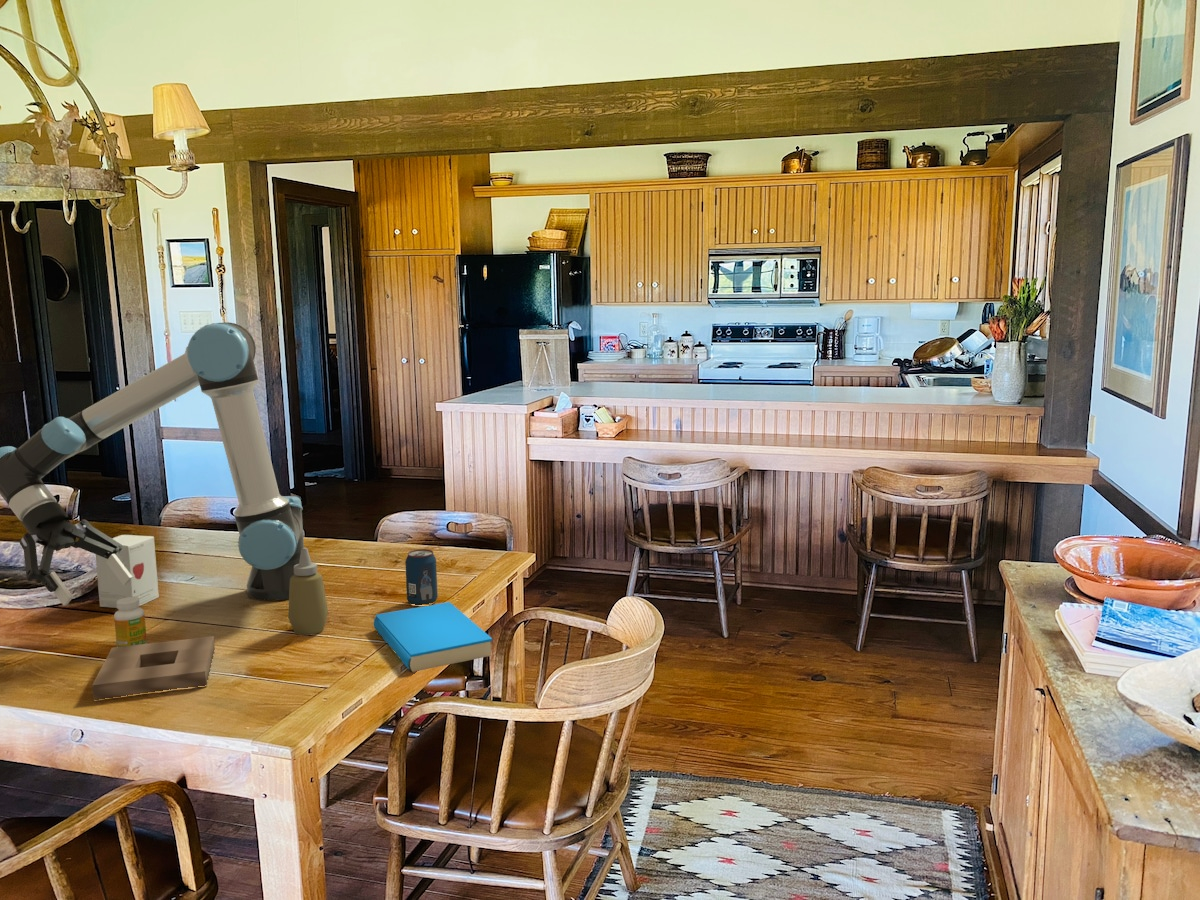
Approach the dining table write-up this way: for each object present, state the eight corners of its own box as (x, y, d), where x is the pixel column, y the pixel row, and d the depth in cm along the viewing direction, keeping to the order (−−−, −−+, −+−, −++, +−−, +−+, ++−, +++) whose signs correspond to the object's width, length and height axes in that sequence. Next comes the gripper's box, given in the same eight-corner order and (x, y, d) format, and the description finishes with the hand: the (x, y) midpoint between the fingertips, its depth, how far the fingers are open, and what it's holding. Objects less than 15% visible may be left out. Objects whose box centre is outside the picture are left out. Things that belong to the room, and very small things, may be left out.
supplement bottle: (131, 652, 176) (127, 605, 174) (110, 649, 177) (106, 603, 176) (153, 643, 181) (149, 597, 179) (132, 640, 182) (128, 594, 181)
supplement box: (133, 610, 200) (127, 546, 198) (98, 607, 202) (92, 543, 200) (160, 597, 209) (155, 535, 207) (127, 594, 211) (121, 533, 208)
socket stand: (214, 650, 177) (213, 636, 176) (206, 687, 160) (205, 671, 159) (113, 662, 171) (112, 647, 170) (93, 701, 154) (92, 685, 154)
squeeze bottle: (292, 640, 182) (286, 555, 179) (286, 628, 189) (281, 546, 186) (332, 633, 185) (328, 550, 182) (325, 621, 192) (320, 541, 189)
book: (449, 601, 195) (493, 636, 173) (449, 620, 196) (494, 657, 174) (371, 615, 186) (408, 653, 165) (372, 634, 187) (409, 675, 166)
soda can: (420, 596, 209) (418, 547, 207) (443, 600, 206) (442, 550, 204) (400, 605, 203) (398, 554, 201) (424, 609, 200) (422, 558, 198)
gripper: (86, 510, 195) (142, 584, 192) (-30, 538, 172) (32, 622, 169) (101, 488, 192) (159, 563, 189) (-14, 513, 169) (49, 598, 166)
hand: (99, 591), depth 179 cm, fingers open, 13 cm apart
